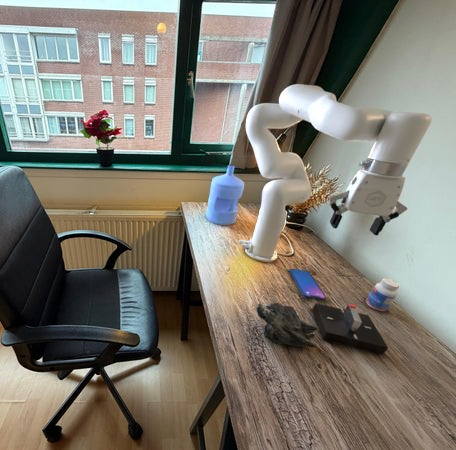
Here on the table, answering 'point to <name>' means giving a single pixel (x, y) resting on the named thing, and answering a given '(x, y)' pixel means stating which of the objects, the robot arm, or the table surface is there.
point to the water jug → (224, 198)
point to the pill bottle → (383, 294)
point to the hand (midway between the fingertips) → (352, 229)
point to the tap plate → (338, 332)
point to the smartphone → (307, 284)
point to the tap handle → (352, 318)
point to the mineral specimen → (285, 325)
